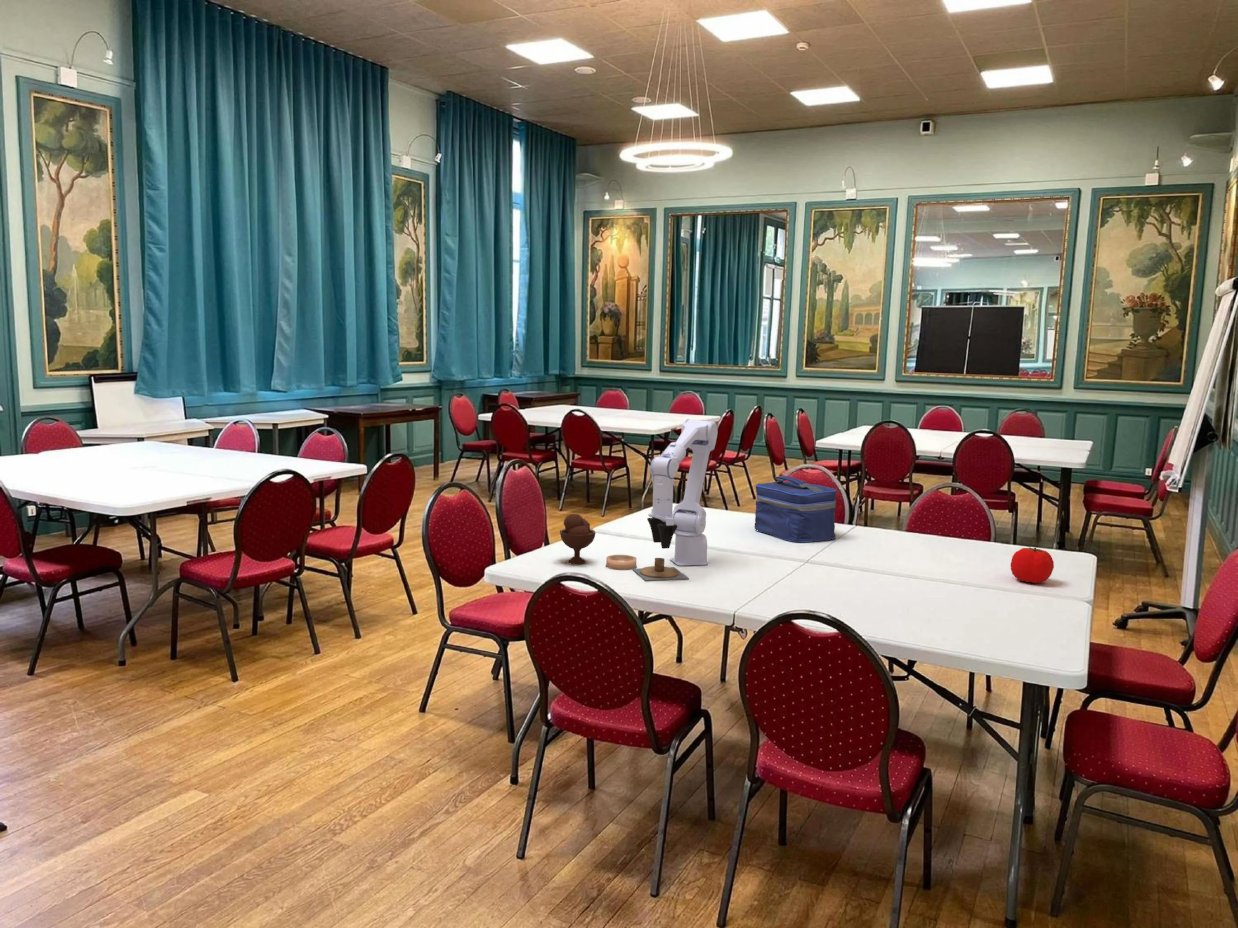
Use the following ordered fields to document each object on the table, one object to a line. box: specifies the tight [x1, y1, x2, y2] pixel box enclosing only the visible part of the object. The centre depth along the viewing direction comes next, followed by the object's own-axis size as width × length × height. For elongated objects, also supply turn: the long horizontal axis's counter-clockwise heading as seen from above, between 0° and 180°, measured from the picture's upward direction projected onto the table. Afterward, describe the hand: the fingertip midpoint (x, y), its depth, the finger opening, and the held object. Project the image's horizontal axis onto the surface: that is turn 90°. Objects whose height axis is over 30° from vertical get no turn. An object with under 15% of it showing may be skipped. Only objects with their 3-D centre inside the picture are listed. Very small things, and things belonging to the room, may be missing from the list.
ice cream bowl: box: [559, 513, 596, 566], centre depth 275 cm, size 11×11×15 cm
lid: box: [640, 557, 679, 578], centre depth 264 cm, size 11×11×4 cm
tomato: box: [1010, 545, 1055, 584], centre depth 268 cm, size 12×12×10 cm
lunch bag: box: [754, 475, 837, 543], centre depth 327 cm, size 31×21×20 cm
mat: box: [631, 566, 690, 582], centre depth 264 cm, size 13×13×1 cm
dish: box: [605, 554, 637, 571], centre depth 273 cm, size 9×9×2 cm
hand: (661, 545), depth 263 cm, fingers open, 7 cm apart
